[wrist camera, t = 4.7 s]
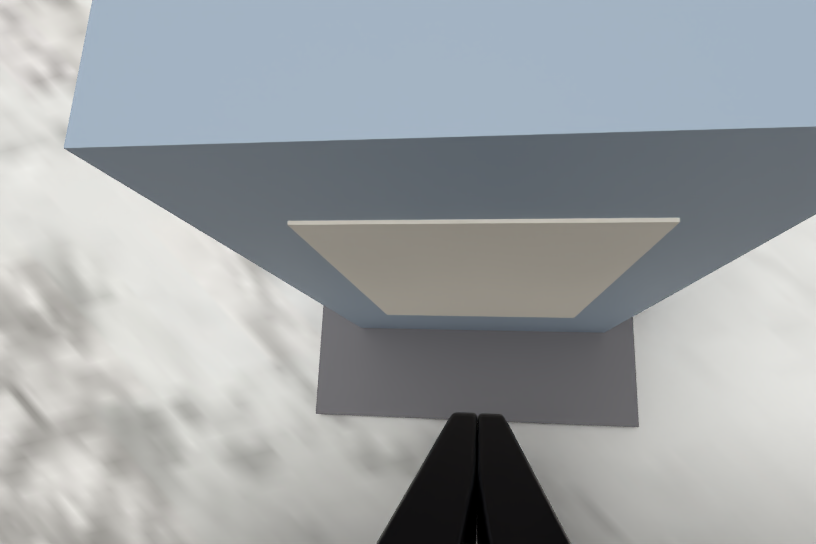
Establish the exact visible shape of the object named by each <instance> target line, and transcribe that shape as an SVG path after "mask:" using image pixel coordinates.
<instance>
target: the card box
mask: <svg viewBox="0 0 816 544" xmlns="http://www.w3.org/2000/svg"><path fill="white" fill-rule="evenodd" d="M64 149H66V150H68V151H69V152H71V153H73V154H74V155H76V156H78V157H79V158H81V159H83V160H84V161H86V162H87V163H89V164H91V165H92V166H94V167H96V168H97V169H99V170H101V171H102V172H104V173H106V174H107V175H109V176H111V177H112V178H114V179H116V180H117V181H119V182H121V183H122V184H124V185H126V186H127V187H129V188H131V189H132V190H134V191H136V192H137V193H139V194H140V195H142V196H144V197H145V198H147V199H149V200H150V201H152V202H154V203H155V204H157V205H159V206H160V207H162V208H164V209H165V210H167V211H169V212H170V213H172V214H174V215H175V216H177V217H179V218H180V219H182V220H184V221H185V222H187V223H189V224H190V225H192V226H193V227H195V228H197V229H198V230H200V231H202V232H203V233H205V234H207V235H208V236H210V237H212V238H213V239H215V240H217V241H218V242H220V243H222V244H223V245H225V246H227V247H228V248H230V249H232V250H233V251H235V252H237V253H238V254H240V255H241V256H243V257H245V258H246V259H248V260H250V261H251V262H253V263H255V264H256V265H258V266H260V267H261V268H263V269H265V270H266V271H268V272H270V273H271V274H273V275H275V276H276V277H278V278H280V279H281V280H283V281H285V282H286V283H288V284H290V285H291V286H293V287H294V288H296V289H298V290H299V291H301V292H303V293H304V294H306V295H308V296H309V297H311V298H313V299H314V300H316V301H318V302H319V303H321V304H323V305H324V306H326V307H328V308H329V309H331V310H333V311H334V312H336V313H338V314H339V315H341V316H343V317H344V318H346V319H347V320H349V321H351V322H352V323H354V324H356V325H357V326H359V327H361V328H395V329H446V330H497V331H549V332H600V333H604V332H606V331H608V330H610V329H611V328H613V327H615V326H617V325H619V324H620V323H622V322H624V321H626V320H628V319H629V318H631V317H633V316H635V315H637V314H638V313H640V312H642V311H644V310H645V309H647V308H649V307H651V306H653V305H654V304H656V303H658V302H660V301H662V300H663V299H665V298H667V297H669V296H670V295H672V294H674V293H676V292H678V291H679V290H681V289H683V288H685V287H687V286H688V285H690V284H692V283H694V282H695V281H697V280H699V279H701V278H703V277H704V276H706V275H708V274H710V273H712V272H713V271H715V270H717V269H719V268H721V267H722V266H724V265H726V264H728V263H729V262H731V261H733V260H735V259H737V258H738V257H740V256H742V255H744V254H746V253H747V252H749V251H751V250H753V249H754V248H756V247H758V246H760V245H762V244H763V243H765V242H767V241H769V240H771V239H772V238H774V237H776V236H778V235H779V234H781V233H783V232H785V231H787V230H788V229H790V228H792V227H794V226H796V225H797V224H799V223H801V222H803V221H804V220H806V219H808V218H810V217H812V216H813V215H815V214H816V0H92V5H91V10H90V16H89V21H88V26H87V31H86V36H85V41H84V46H83V52H82V57H81V62H80V67H79V72H78V77H77V82H76V88H75V93H74V98H73V103H72V108H71V113H70V118H69V124H68V129H67V134H66V139H65V144H64Z"/></svg>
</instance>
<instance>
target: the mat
mask: <svg viewBox="0 0 816 544" xmlns="http://www.w3.org/2000/svg"><path fill="white" fill-rule="evenodd" d="M454 412H467V413H475V414H476V415H477V417H478V416H479V414H481V413H492V414H501V415H503V416H504V417H505V419H506V421H507V422H529V423H553V424H576V425H600V426H624V427H639V422H638V404H637V387H636V370H635V352H634V335H633V318H632V317H631V318H629V319H628V320H626V321H624V322H622V323H620V324H619V325H617V326H615V327H613V328H611V329H610V330H608V331H606V332H604V333H600V332H549V331H497V330H446V329H395V328H361V327H359V326H357V325H356V324H354V323H352V322H351V321H349V320H347V319H346V318H344V317H343V316H341V315H339V314H338V313H336V312H334V311H333V310H331V309H329V308H328V307H326V306H324V307H323V321H322V335H321V348H320V362H319V376H318V390H317V404H316V414H338V415H362V416H386V417H410V418H434V419H449V418H450V416H451V415H452V414H453V413H454Z"/></svg>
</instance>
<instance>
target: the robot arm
mask: <svg viewBox="0 0 816 544" xmlns="http://www.w3.org/2000/svg"><path fill="white" fill-rule="evenodd" d="M476 539H477V544H571V543H570V541H569V539H568V537H567V535H566V533H565V531H564V529H563V527H562V525H561V524H560V522H559V520H558V518H557V516H556V514H555V512H554V510H553V508H552V506H551V505H550V503H549V501H548V499H547V497H546V495H545V493H544V491H543V489H542V487H541V485H540V484H539V482H538V480H537V478H536V476H535V474H534V472H533V470H532V468H531V466H530V465H529V463H528V461H527V459H526V457H525V455H524V453H523V451H522V449H521V447H520V445H519V444H518V442H517V440H516V438H515V436H514V434H513V432H512V430H511V428H510V426H509V425H508V423H507V421H506V419H505V417H504V416H503V415H501V414H492V413H481V414H479V416H478V417H477V415H476V414H475V413H467V412H454V413H453V414H452V415H451V416H450V418H449V419H448V421H447V423H446V425H445V426H444V428H443V430H442V432H441V433H440V435H439V437H438V438H437V440H436V442H435V444H434V445H433V447H432V449H431V450H430V452H429V454H428V456H427V457H426V459H425V461H424V463H423V464H422V466H421V468H420V469H419V471H418V473H417V475H416V476H415V478H414V480H413V482H412V483H411V485H410V487H409V488H408V490H407V492H406V494H405V495H404V497H403V499H402V500H401V502H400V504H399V506H398V507H397V509H396V511H395V513H394V514H393V516H392V518H391V519H390V521H389V523H388V525H387V526H386V528H385V530H384V531H383V533H382V535H381V537H380V538H379V540H378V542H377V544H476Z"/></svg>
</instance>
